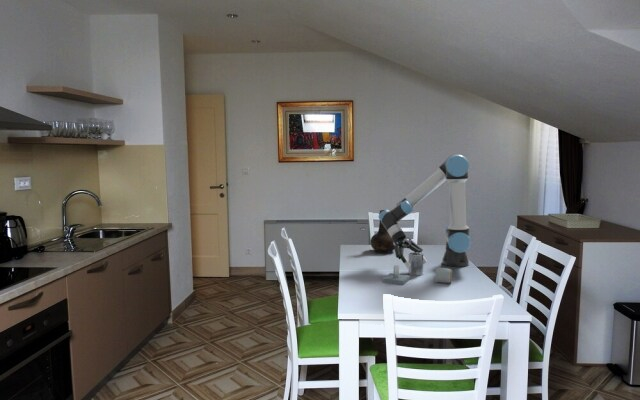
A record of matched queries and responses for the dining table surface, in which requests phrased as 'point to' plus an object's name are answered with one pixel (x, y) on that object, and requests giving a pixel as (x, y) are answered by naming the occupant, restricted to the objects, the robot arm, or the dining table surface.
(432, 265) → the dining table surface
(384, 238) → the dark brown rounded piece
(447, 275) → the ceramic mug
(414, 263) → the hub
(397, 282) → the peg block
